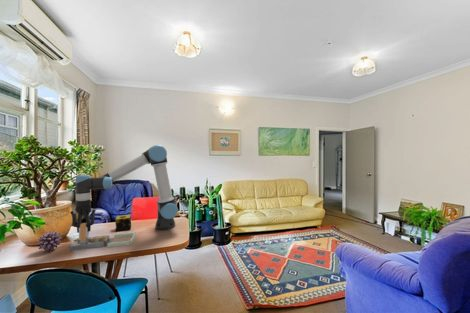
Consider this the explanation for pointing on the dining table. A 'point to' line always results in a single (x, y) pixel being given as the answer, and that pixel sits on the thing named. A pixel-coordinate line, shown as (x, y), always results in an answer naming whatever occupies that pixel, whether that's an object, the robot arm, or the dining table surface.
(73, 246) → the slot board
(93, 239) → the chip
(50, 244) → the flower
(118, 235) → the tray
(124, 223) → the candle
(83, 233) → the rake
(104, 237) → the chip
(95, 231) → the dining table surface
